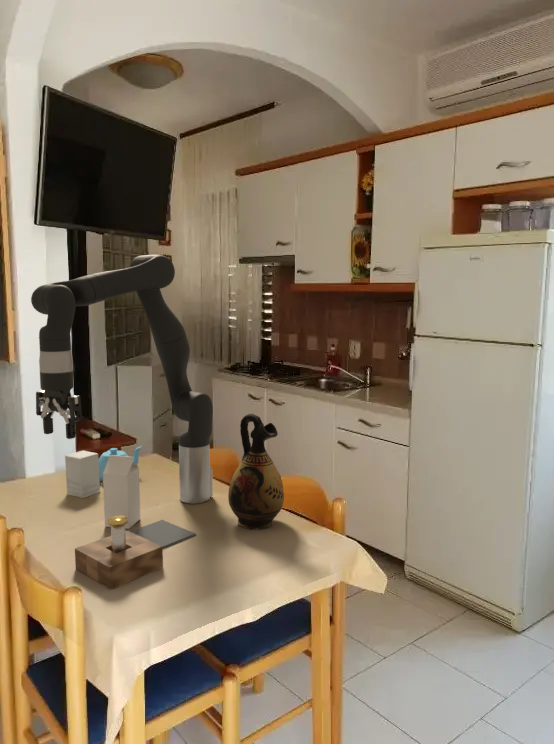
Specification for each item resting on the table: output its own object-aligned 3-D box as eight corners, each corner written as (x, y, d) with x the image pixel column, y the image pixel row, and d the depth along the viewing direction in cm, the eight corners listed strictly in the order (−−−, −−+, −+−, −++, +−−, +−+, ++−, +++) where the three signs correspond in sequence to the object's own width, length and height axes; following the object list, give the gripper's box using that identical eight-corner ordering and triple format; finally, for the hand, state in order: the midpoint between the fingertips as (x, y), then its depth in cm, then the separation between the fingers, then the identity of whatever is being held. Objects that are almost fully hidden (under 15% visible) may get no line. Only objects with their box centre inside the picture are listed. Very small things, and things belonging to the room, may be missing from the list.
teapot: (108, 469, 212) (107, 441, 211) (146, 473, 208) (145, 444, 207) (83, 482, 198) (82, 452, 197) (123, 486, 194) (122, 456, 193)
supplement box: (100, 492, 189) (99, 453, 187) (81, 498, 183) (80, 458, 181) (85, 487, 193) (83, 449, 191) (66, 494, 187) (64, 455, 185)
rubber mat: (162, 521, 165) (162, 519, 165) (195, 535, 156) (195, 533, 156) (119, 536, 155) (118, 535, 155) (152, 552, 146) (152, 550, 146)
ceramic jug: (295, 522, 165) (296, 416, 161) (256, 539, 154) (256, 425, 150) (252, 506, 177) (252, 407, 173) (213, 521, 165) (211, 415, 161)
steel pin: (122, 562, 141) (120, 514, 139) (133, 567, 138) (131, 518, 136) (105, 568, 137) (104, 519, 136) (116, 574, 134) (115, 524, 133)
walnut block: (127, 549, 147) (126, 530, 147) (162, 566, 138) (162, 546, 137) (75, 569, 137) (74, 548, 136) (110, 589, 128) (109, 567, 127)
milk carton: (129, 529, 160) (127, 460, 157) (104, 527, 161) (102, 458, 158) (140, 519, 167) (138, 453, 164) (116, 517, 168) (114, 451, 165)
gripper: (89, 370, 141) (91, 436, 144) (51, 365, 149) (54, 429, 151) (62, 373, 135) (65, 443, 137) (24, 368, 143) (27, 435, 145)
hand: (59, 435), depth 144 cm, fingers open, 8 cm apart
